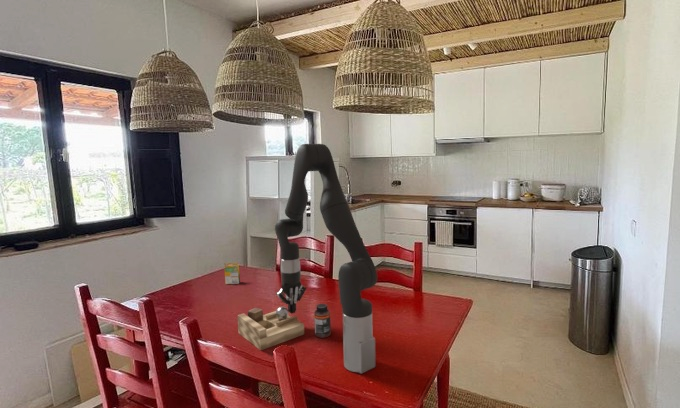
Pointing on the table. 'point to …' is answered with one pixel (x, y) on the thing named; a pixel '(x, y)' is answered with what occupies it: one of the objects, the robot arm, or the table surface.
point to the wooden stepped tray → (269, 330)
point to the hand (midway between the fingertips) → (292, 312)
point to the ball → (281, 313)
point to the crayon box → (232, 273)
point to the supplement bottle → (322, 321)
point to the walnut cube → (256, 314)
